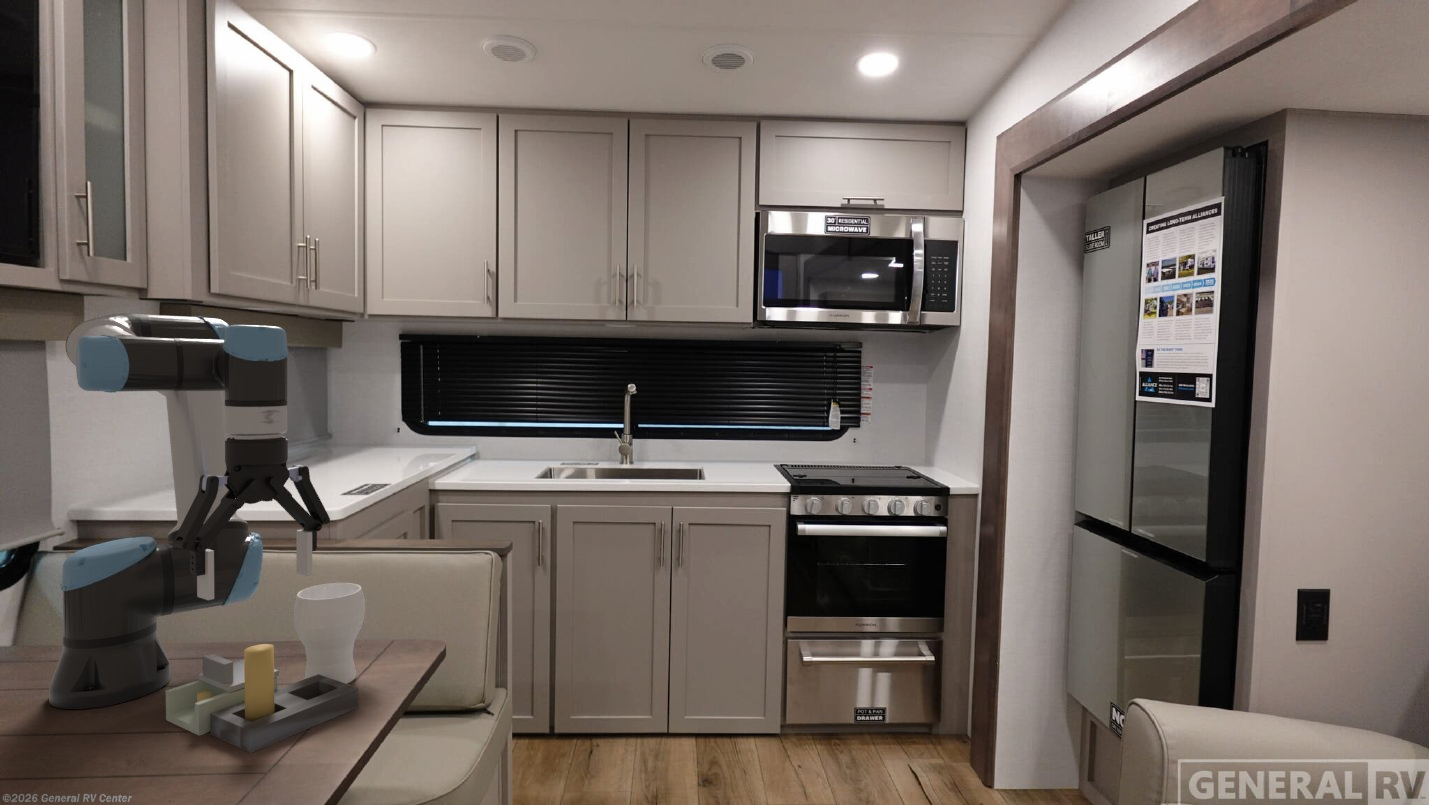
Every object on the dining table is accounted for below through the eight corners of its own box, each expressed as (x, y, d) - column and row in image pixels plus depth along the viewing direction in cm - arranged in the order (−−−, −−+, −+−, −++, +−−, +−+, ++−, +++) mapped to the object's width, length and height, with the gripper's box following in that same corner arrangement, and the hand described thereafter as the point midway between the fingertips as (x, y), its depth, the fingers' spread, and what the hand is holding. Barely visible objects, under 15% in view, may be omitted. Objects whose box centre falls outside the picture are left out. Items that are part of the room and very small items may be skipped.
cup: (336, 696, 118) (335, 602, 117) (278, 690, 120) (277, 597, 119) (379, 670, 128) (378, 584, 128) (325, 664, 130) (324, 579, 130)
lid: (197, 679, 113) (197, 654, 113) (245, 663, 119) (245, 640, 119) (230, 692, 108) (230, 666, 108) (278, 675, 114) (278, 651, 114)
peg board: (210, 734, 105) (210, 713, 105) (318, 692, 119) (318, 674, 119) (250, 753, 100) (250, 731, 100) (358, 707, 114) (358, 688, 114)
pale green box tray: (166, 720, 109) (165, 690, 109) (244, 692, 119) (243, 665, 119) (198, 735, 105) (198, 705, 105) (277, 705, 114) (276, 677, 114)
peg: (254, 740, 104) (253, 655, 103) (239, 733, 106) (238, 650, 105) (280, 729, 107) (279, 647, 106) (265, 723, 109) (264, 642, 108)
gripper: (170, 445, 92) (172, 614, 93) (354, 431, 114) (354, 569, 115) (140, 440, 95) (142, 604, 96) (324, 428, 117) (324, 562, 118)
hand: (257, 585), depth 106 cm, fingers open, 13 cm apart
